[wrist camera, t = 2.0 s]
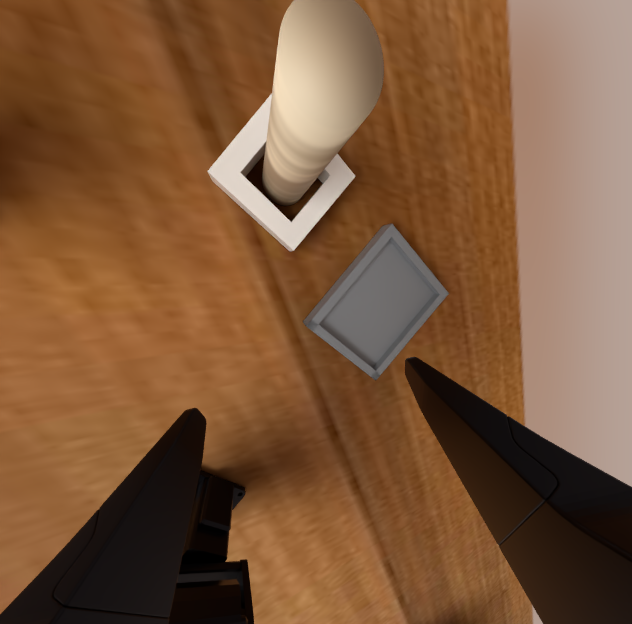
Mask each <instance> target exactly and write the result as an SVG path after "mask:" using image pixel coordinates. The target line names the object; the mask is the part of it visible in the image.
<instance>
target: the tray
mask: <svg viewBox="0 0 632 624" xmlns="http://www.w3.org/2000/svg"><path fill="white" fill-rule="evenodd" d="M448 294H449V293H448V292H447V291H446V289H445V288H444V287H443V286H442V284H441V283H440V282H439V281H438V280H437V278H436V277H435V276H434V275H433V273H432V272H431V271H430V270H429V268H428V267H427V266H426V265H425V264H424V262H423V261H422V260H421V259H420V257H419V256H418V255H417V254H416V252H415V251H414V250H413V249H412V248H411V246H410V245H409V244H408V243H407V241H406V240H405V239H404V238H403V236H402V235H401V234H400V233H399V232H398V230H397V229H396V228H395V227H394V225H393V224H388V225H384V226H382V227H381V229H380V230H379V231H378V232H377V233H376V235H375V236H374V237H373V238H372V239H371V241H370V242H369V243H368V244H367V245H366V247H365V248H364V249H363V250H362V251H361V253H360V254H359V255H358V256H357V257H356V259H355V260H354V261H353V262H352V263H351V265H350V266H349V267H348V268H347V269H346V271H345V272H344V273H343V274H342V275H341V276H340V278H339V279H338V280H337V281H336V282H335V284H334V285H333V286H332V287H331V288H330V290H329V291H328V292H327V293H326V294H325V296H324V297H323V298H322V299H321V300H320V302H319V303H318V304H317V305H316V306H315V308H314V309H313V310H312V311H311V312H310V314H309V315H308V316H307V317H306V318H305V320H304V321H303V323H304V324H305V325H306V326H307V327H308V328H309V329H311V330H312V331H313V332H314V333H316V334H317V335H318V336H320V337H321V338H322V339H323V340H325V341H326V342H327V343H328V344H330V345H331V346H332V347H334V348H335V349H336V350H337V351H339V352H340V353H341V354H342V355H344V356H345V357H346V358H348V359H349V360H350V361H351V362H353V363H354V364H355V365H357V366H358V367H359V368H360V369H362V370H363V371H364V372H365V373H367V374H368V375H369V376H371V377H372V378H373V379H374V380H377V379H378V377H379V376H380V375H381V374H382V373H383V371H384V370H385V369H386V368H387V367H388V365H389V364H390V363H391V362H392V361H393V359H394V358H395V357H396V356H397V355H398V354H399V352H400V351H401V350H402V349H403V348H404V346H405V345H406V344H407V343H408V342H409V340H410V339H411V338H412V337H413V336H414V334H415V333H416V332H417V331H418V330H419V328H420V327H421V326H422V325H423V324H424V322H425V321H426V320H427V319H428V318H429V316H430V315H431V314H432V313H433V312H434V311H435V309H436V308H437V307H438V306H439V305H440V303H441V302H442V301H443V300H444V299H445V297H446V296H447V295H448Z"/></svg>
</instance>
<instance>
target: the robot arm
mask: <svg viewBox="0 0 632 624" xmlns="http://www.w3.org/2000/svg"><path fill="white" fill-rule="evenodd" d="M405 375H406V378H407V380H408V382H409V384H410V387H411V389H412V391H413V394H414V396H415V398H416V400H417V403H418V405H419V407H420V409H421V411H422V413H423V415H424V417H425V419H426V420H427V422H428V424H429V426H430V427H431V429H432V431H433V433H434V434H435V436H436V438H437V440H438V441H439V443H440V445H441V447H442V448H443V450H444V452H445V453H446V455H447V457H448V459H449V460H450V462H451V464H452V466H453V467H454V469H455V471H456V473H457V474H458V476H459V478H460V480H461V481H462V483H463V485H464V486H465V488H466V490H467V492H468V493H469V495H470V497H471V499H472V500H473V502H474V504H475V506H476V507H477V509H478V511H479V513H480V514H481V516H482V518H483V520H484V521H485V523H486V525H487V526H488V528H489V530H490V532H491V533H492V535H493V537H494V539H495V540H496V542H497V544H498V545H499V548H500V549H501V551H502V553H503V555H504V556H505V558H506V560H507V562H508V563H509V565H510V567H511V568H512V570H513V572H514V574H515V575H516V577H517V579H518V581H519V582H520V584H521V586H522V588H523V589H524V591H525V593H526V595H527V596H528V598H529V600H530V602H531V603H532V605H533V607H534V608H535V610H536V612H537V614H538V615H539V617H540V619H541V621H542V622H543V624H632V487H631V486H629V485H627V484H625V483H623V482H621V481H620V480H618V479H616V478H614V477H613V476H611V475H609V474H607V473H605V472H603V471H602V470H600V469H598V468H596V467H594V466H593V465H591V464H589V463H587V462H585V461H584V460H582V459H580V458H578V457H576V456H574V455H573V454H571V453H569V452H567V451H566V450H564V449H562V448H560V447H559V446H557V445H555V444H553V443H552V442H550V441H548V440H546V439H544V438H543V437H541V436H540V435H538V434H536V433H535V432H533V431H531V430H530V429H528V428H527V427H525V426H523V425H522V424H520V423H519V422H517V421H515V420H514V419H512V418H511V417H509V416H508V417H507V415H506V414H504V413H503V412H501V411H500V410H498V409H497V408H495V407H493V406H492V405H490V404H489V403H487V402H486V401H484V400H483V399H481V398H479V397H478V396H476V395H475V394H473V393H472V392H470V391H468V390H467V389H465V388H464V387H462V386H461V385H459V384H458V383H456V382H454V381H453V380H451V379H450V378H448V377H447V376H445V375H444V374H442V373H440V372H439V371H437V370H436V369H434V368H433V367H431V366H429V365H428V364H426V363H425V362H423V361H422V360H420V359H419V358H417V357H411V358H407V359H406V360H405ZM205 432H206V419H205V417H204V416H203V415H202V413H201V412H200V411H199V410H198V409H197V408H192V409H188V410H186V411H184V412H183V413H182V415H181V416H180V417H179V418H178V419H177V420H176V421H175V423H174V424H173V425H172V426H171V427H170V428H169V429H168V431H167V432H166V433H165V434H164V435H163V436H162V437H161V438H160V440H159V441H158V442H157V443H156V444H155V445H154V446H153V448H152V449H151V450H150V451H149V452H148V453H147V454H146V456H145V457H144V458H143V459H142V460H141V461H140V462H139V464H138V465H137V466H136V467H135V468H134V469H133V470H132V472H131V473H130V474H129V475H128V476H127V477H126V478H125V479H124V481H123V482H122V483H121V484H120V485H119V486H118V487H117V489H116V490H115V491H114V492H113V493H112V494H111V495H110V497H109V498H108V499H107V500H106V501H105V502H104V503H103V505H102V506H101V507H100V509H99V510H97V511H96V512H95V514H94V515H93V516H92V517H91V518H90V519H89V520H88V522H87V523H86V524H85V525H84V526H83V527H82V528H81V529H80V530H79V532H78V533H77V534H76V535H75V536H74V537H73V538H72V539H71V540H70V542H69V543H68V544H67V545H66V546H65V547H64V548H63V549H62V550H61V551H60V552H59V553H58V554H57V555H56V557H55V558H54V559H53V560H52V561H51V562H50V563H49V564H48V565H47V566H46V567H45V568H44V569H43V570H42V571H41V572H40V573H39V574H38V576H37V577H36V578H35V579H34V580H33V581H32V582H31V583H30V584H29V585H28V586H27V587H26V588H25V589H24V590H23V591H22V592H21V593H20V594H19V595H18V596H17V597H16V599H15V600H14V601H13V602H12V603H11V604H10V605H9V606H8V607H7V608H6V609H5V610H4V611H3V612H2V613H1V614H0V624H254V617H253V606H252V597H251V589H250V580H249V571H248V562H247V559H245V560H240V561H233V562H225V561H226V560H227V553H228V541H229V530H230V528H231V516H232V510H233V509H234V508H235V506H236V505H237V504H238V503H239V502H240V500H241V499H242V498H243V497H244V495H245V488H244V487H242V486H239V485H237V484H234V483H232V482H229V481H226V480H224V479H221V478H219V477H216V476H213V475H211V474H208V473H206V472H203V471H200V470H201V464H202V458H203V450H204V441H205ZM240 492H241V493H240Z"/></svg>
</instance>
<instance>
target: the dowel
mask: <svg viewBox="0 0 632 624" xmlns="http://www.w3.org/2000/svg"><path fill="white" fill-rule="evenodd" d="M383 76H384V62H383V54H382V49H381V44H380V41H379V38H378V35H377V33H376V30H375V28H374V26H373V24H372V22H371V20H370V19H369V17H368V16H367V14H366V13H365V11H364V10H363V9H362V8H361V7H360V6H359V5H358V4H357V3H356V2H355V1H354V0H294V1H293V2H292V4H291V5H290V6H289V8H288V9H287V11H286V13H285V16H284V18H283V21H282V24H281V28H280V33H279V41H278V49H277V57H276V65H275V74H274V82H273V90H272V99H271V107H270V115H269V123H268V132H267V140H266V148H265V157H264V165H263V173H262V185H263V188H264V191H265V193H266V194H267V196H268V197H269V198H270V199H271V200H272V201H273V202H275V203H276V204H279V205H282V206H289V205H293V204H295V203H296V202H298V201H299V200H300V198H301V197H302V196H303V195H304V194H305V192H306V191H307V190H308V189H309V187H310V186H311V185H312V184H313V182H314V181H315V180H316V179H317V178H318V176H319V175H320V174H321V173H322V171H323V170H324V169H325V168H326V167H327V165H328V164H329V163H330V162H331V160H332V159H333V158H334V157H335V156H336V154H337V153H338V152H339V151H340V149H341V148H342V147H343V146H344V145H345V143H346V142H347V141H348V140H349V138H350V137H351V136H352V135H353V133H354V132H355V131H356V130H357V129H358V127H359V126H360V125H361V124H362V122H363V121H364V120H365V119H366V118H367V116H368V115H369V114H370V113H371V111H372V110H373V108H374V107H375V105H376V103H377V101H378V98H379V96H380V93H381V89H382V84H383Z"/></svg>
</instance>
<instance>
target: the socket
mask: <svg viewBox="0 0 632 624" xmlns="http://www.w3.org/2000/svg"><path fill="white" fill-rule="evenodd" d="M271 99H272V94H271V95H270V96H269V98H268V99H267V100H266V101H265V102H264V104H263V105H262V106H261V107H260V108H259V110H258V111H257V112H256V113H255V114H254V116H253V117H252V118H251V119H250V120H249V122H248V123H247V124H246V125H245V127H244V128H243V129H242V130H241V131H240V133H239V134H238V135H237V136H236V137H235V139H234V140H233V141H232V142H231V143H230V145H229V146H228V147H227V148H226V149H225V151H224V152H223V153H222V154H221V156H220V157H219V158H218V159H217V160H216V162H215V163H214V164H213V165H212V166H211V168H210V169H209V170H208V171H207V172H208V174H209V176H210V177H211V179H212V181H213V182H214V183H215V184H216V185H217V186H218V187H220V188H221V189H222V190H223V191H224V192H225V193H226V194H227V195H228V196H229V197H230V198H232V199H233V200H234V201H235V202H236V203H237V204H238V205H239V206H240V207H241V208H243V209H244V210H245V211H246V212H247V213H248V214H249V215H250V216H251V217H252V218H254V219H255V220H256V221H257V222H258V223H259V224H260V225H261V226H262V227H263V228H265V229H266V230H267V231H268V232H269V233H270V234H271V235H272V236H273V237H274V238H275V239H277V240H278V241H279V242H280V243H281V244H282V245H283V246H284V247H285V248H286V249H288V250H289V251H294V250H295V249H296V247H297V246H298V245H299V244H300V243H301V241H302V240H303V239H304V238H305V236H306V235H307V234H308V233H309V232H310V230H311V229H312V228H313V227H314V226H315V224H316V223H317V222H318V221H319V220H320V218H321V217H322V216H323V215H324V214H325V212H326V211H327V210H328V209H329V208H330V206H331V205H332V204H333V203H334V202H335V200H336V199H337V198H338V197H339V196H340V194H341V193H342V192H343V191H344V190H345V188H346V187H347V186H348V185H349V184H350V182H351V181H352V180H353V179H354V178H355V175H354V174H353V172H352V171H351V170H350V169H349V167H348V166H347V165H346V164H345V162H344V161H343V160H342V159H341V157H340V156H339V155H338V154H336V156H335V157H334V158H333V159H332V160H331V162H330V163H329V164H328V165H327V167H326V168H325V169H324V170H323V171H322V173H321V174H320V175H319V176H318V179H319V180H320V181H321V182H322V183H323V184H322V185H321V186H320V187H319V189H318V190H317V191H316V192H315V193H314V195H313V196H312V197H311V198H310V199H309V201H308V202H307V203H306V204H305V205H304V207H303V208H302V209H301V210H300V211H299V213H298V214H297V215H296V216H295V217H294V219H293V220H292V221H289V220H288V219H287V218H286V217H285V216H284V215H283V214H282V213H281V212H280V211H279V210H278V209H277V208H276V207H275V206H274V205H273V204H272V203H271V202H270V201H269V200H268V199H267V198H266V197H265V196H264V195H263V194H262V193H261V192H260V191H259V190H258V189H257V188H256V187H255V186H254V185H253V184H252V183H251V182H249V181H248V180H247V179H246V178H245V177H246V176H247V174H248V173H249V172H250V171H251V170H252V168H253V167H254V166H255V165H256V164H257V162H258V161H259V160H260V159H261V158H262V156H263V155H264V154H265V148H266V140H267V132H268V123H269V115H270V107H271Z"/></svg>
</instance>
